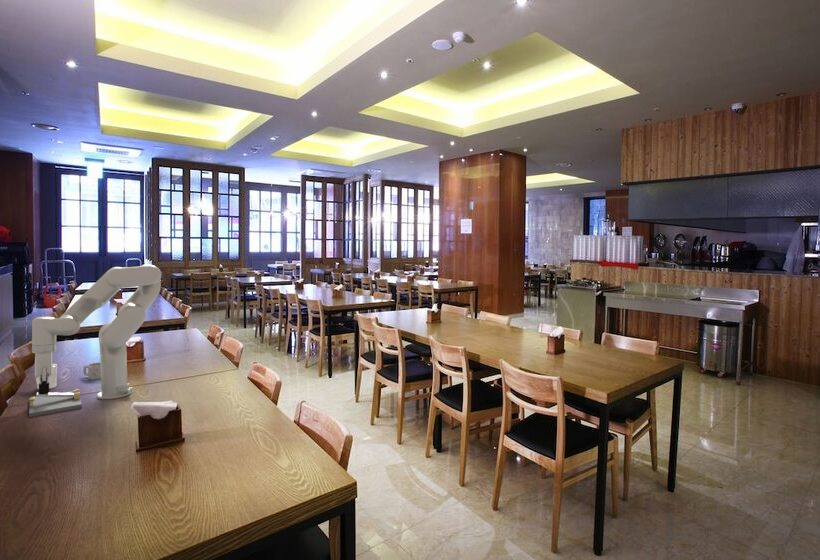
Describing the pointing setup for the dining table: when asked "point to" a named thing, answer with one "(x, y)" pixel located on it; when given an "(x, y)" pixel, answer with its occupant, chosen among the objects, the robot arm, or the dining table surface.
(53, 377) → the white cup
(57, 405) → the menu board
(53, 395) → the bar
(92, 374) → the mug
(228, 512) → the dining table surface
